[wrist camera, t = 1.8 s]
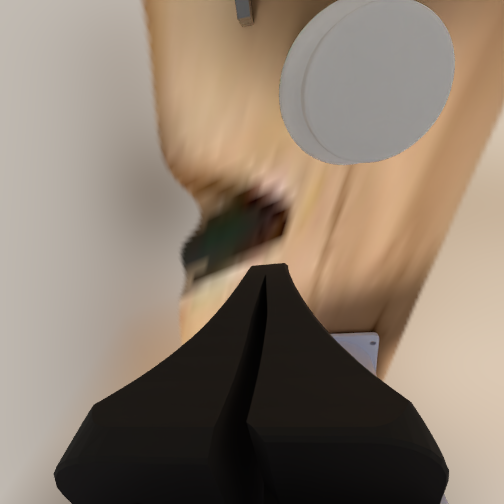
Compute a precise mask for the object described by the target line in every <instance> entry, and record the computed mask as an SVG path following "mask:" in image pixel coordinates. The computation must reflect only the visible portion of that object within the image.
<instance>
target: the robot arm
mask: <svg viewBox="0 0 504 504" xmlns="http://www.w3.org/2000/svg"><path fill="white" fill-rule="evenodd" d="M372 341H374V342H372ZM378 346H379V336H378V334H377V333H375V332H364V333H340V334H329V332H328V331H327V330H326V329H325V328H324V327H323V326H322V324H321V323H320V322H319V321H318V320H317V318H316V317H315V316H314V314H313V313H312V312H311V310H310V309H309V308H308V306H307V305H306V303H305V302H304V300H303V299H302V297H301V295H300V294H299V292H298V290H297V288H296V287H295V285H294V283H293V281H292V278H291V276H290V274H289V270H288V265H286V264H285V263H280V264H269V265H257V266H251V267H250V269H249V270H248V272H247V273H246V275H245V276H244V278H243V279H242V280H241V282H240V283H239V285H238V286H237V288H236V289H235V290H234V292H233V293H232V294H231V296H230V297H229V298H228V300H227V301H226V302H225V303H224V304H223V306H222V307H221V308H220V309H219V310H218V312H217V313H216V314H215V315H214V316H213V317H212V318H211V319H210V321H209V322H208V323H207V324H206V325H205V326H204V327H203V328H202V329H201V330H200V331H199V332H197V333H196V334H195V335H194V336H193V337H192V338H191V339H190V340H188V341H187V342H186V343H185V344H184V345H182V346H181V347H180V348H179V349H178V350H177V351H175V352H174V353H173V354H172V355H170V356H169V357H168V358H166V359H165V360H164V361H162V362H161V363H159V364H158V365H157V366H155V367H154V368H152V369H151V370H150V371H148V372H147V373H145V374H144V375H142V376H141V377H139V378H138V379H136V380H135V381H133V382H131V383H130V384H128V385H126V386H125V387H123V388H122V389H120V390H118V391H116V392H115V393H113V394H111V395H110V396H108V397H107V398H105V399H103V400H101V401H100V402H98V403H96V404H95V405H93V407H92V408H91V410H90V411H89V413H88V415H87V416H86V418H85V420H84V421H83V423H82V425H81V426H80V428H79V430H78V432H77V433H76V435H75V436H74V438H73V440H72V441H71V443H70V445H69V446H68V448H67V450H66V452H65V453H64V455H63V457H62V458H61V460H60V462H59V463H58V465H57V467H56V470H55V472H54V477H55V481H56V485H57V488H58V489H59V490H60V491H61V493H62V494H63V495H64V496H65V497H66V498H67V499H68V500H69V501H70V502H71V503H72V504H448V502H447V500H446V497H445V495H444V491H445V489H446V486H447V483H448V479H449V469H448V468H447V465H446V462H445V460H444V457H443V455H442V453H441V451H440V449H439V447H438V445H437V443H436V442H435V440H434V438H433V436H432V434H431V433H430V431H429V429H428V428H427V426H426V424H425V423H424V421H423V419H422V418H421V416H420V415H419V413H418V412H417V410H416V409H415V407H414V406H413V404H412V403H411V402H410V401H409V400H407V399H406V398H404V397H403V396H402V395H400V394H399V393H398V392H396V391H395V390H393V389H392V388H391V387H389V386H388V385H387V384H385V383H384V382H383V381H381V380H380V379H379V378H378V377H377V375H376V366H377V356H378Z"/></svg>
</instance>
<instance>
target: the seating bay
mask: <svg viewBox="0 0 504 504" xmlns="http://www.w3.org/2000/svg"><path fill="white" fill-rule="evenodd" d="M235 3H236V10H237V18H238V20H239V22H240V24H241V25H242V27H244V26H249V25H254V23H253V14H252V5H251V0H235Z"/></svg>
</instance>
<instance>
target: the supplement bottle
mask: <svg viewBox="0 0 504 504" xmlns="http://www.w3.org/2000/svg"><path fill="white" fill-rule="evenodd" d="M454 70H455V56H454V49H453V44H452V40H451V37H450V34H449V32H448V30H447V28H446V27H445V25H444V23H443V22H442V20H441V19H440V18H439V17H438V16H437V15H436V13H435V12H434V11H432V10H431V9H430V8H428V7H427V6H425V5H423V4H421V3H419V2H417V1H414V0H338V1H336V2H334V3H332V4H331V5H329V6H328V7H326V8H325V9H323V10H322V11H320V12H319V13H318V14H317V15H316V16H315V17H314V18H313V19H312V20H311V21H310V22H309V23H308V24H307V25H306V26H305V27H304V28H303V29H302V31H301V32H300V33H299V35H298V36H297V38H296V39H295V41H294V42H293V44H292V46H291V48H290V50H289V52H288V55H287V57H286V60H285V63H284V66H283V70H282V74H281V78H280V85H279V102H280V110H281V115H282V118H283V121H284V123H285V126H286V128H287V130H288V132H289V134H290V136H291V137H292V139H293V140H294V141H295V143H296V144H297V145H298V146H299V147H300V148H301V149H302V150H303V151H305V152H306V153H307V154H309V155H310V156H312V157H313V158H315V159H318V160H320V161H322V162H326V163H330V164H336V165H351V164H357V163H370V162H377V161H381V160H385V159H388V158H390V157H393V156H395V155H397V154H400V153H401V152H403V151H404V150H406V149H408V148H409V147H411V146H412V145H413V144H415V143H416V142H417V141H418V140H419V139H420V138H421V137H422V136H423V135H424V134H425V133H426V132H427V131H428V130H429V129H430V128H431V126H432V125H433V124H434V123H435V121H436V120H437V118H438V117H439V115H440V113H441V112H442V110H443V108H444V106H445V104H446V101H447V99H448V96H449V93H450V91H451V86H452V82H453V77H454Z"/></svg>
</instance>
